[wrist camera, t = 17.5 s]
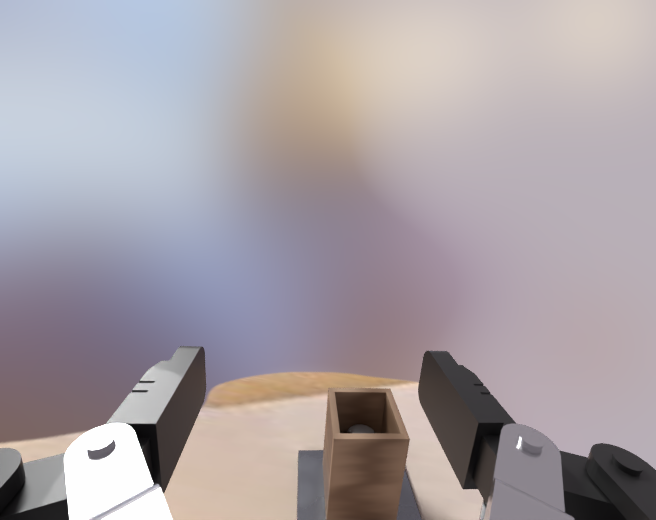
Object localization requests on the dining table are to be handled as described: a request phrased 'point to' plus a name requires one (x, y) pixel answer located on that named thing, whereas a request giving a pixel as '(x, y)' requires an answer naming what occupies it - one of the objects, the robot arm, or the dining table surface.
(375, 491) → the walnut sleeve
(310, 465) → the post plate
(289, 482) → the dining table surface
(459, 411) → the robot arm
